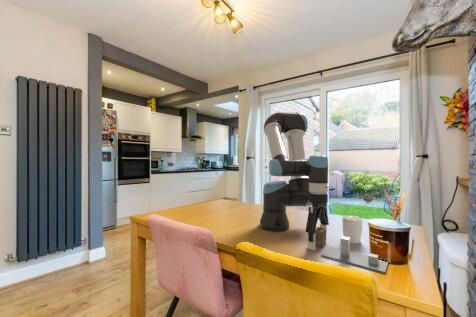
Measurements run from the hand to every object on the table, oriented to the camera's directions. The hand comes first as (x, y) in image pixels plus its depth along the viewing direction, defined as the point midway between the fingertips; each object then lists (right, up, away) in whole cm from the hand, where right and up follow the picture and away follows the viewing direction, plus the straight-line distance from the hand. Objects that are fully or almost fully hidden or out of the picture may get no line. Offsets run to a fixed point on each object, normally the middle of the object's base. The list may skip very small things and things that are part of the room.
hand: (317, 244), depth 97 cm
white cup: (+17, 0, +5) cm, 17 cm away
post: (+6, 0, -11) cm, 13 cm away
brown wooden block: (0, 0, 0) cm, 0 cm away
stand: (+9, 0, -13) cm, 16 cm away
